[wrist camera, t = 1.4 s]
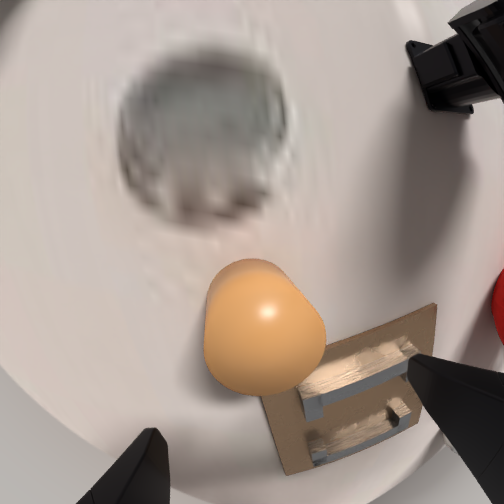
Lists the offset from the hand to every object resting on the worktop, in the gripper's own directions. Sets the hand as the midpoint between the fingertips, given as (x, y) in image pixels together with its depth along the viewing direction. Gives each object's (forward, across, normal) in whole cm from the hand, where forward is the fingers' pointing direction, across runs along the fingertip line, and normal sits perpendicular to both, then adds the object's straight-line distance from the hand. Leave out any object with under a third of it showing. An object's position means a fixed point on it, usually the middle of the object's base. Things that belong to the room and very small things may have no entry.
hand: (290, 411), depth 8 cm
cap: (+10, 0, 0) cm, 10 cm away
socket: (+10, -7, +13) cm, 18 cm away
